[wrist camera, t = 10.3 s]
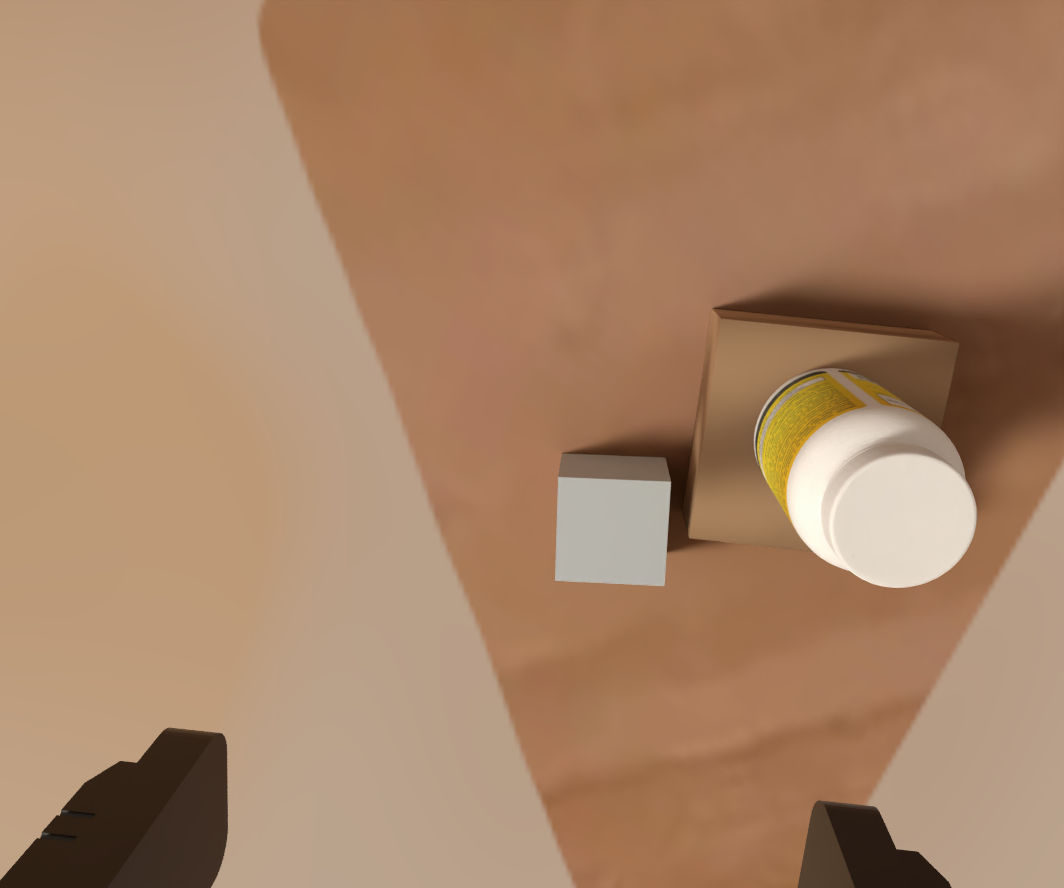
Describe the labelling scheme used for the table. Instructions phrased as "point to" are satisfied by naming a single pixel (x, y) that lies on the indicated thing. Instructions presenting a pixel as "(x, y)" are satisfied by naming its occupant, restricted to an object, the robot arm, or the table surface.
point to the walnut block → (749, 381)
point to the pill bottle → (865, 478)
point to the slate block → (612, 519)
